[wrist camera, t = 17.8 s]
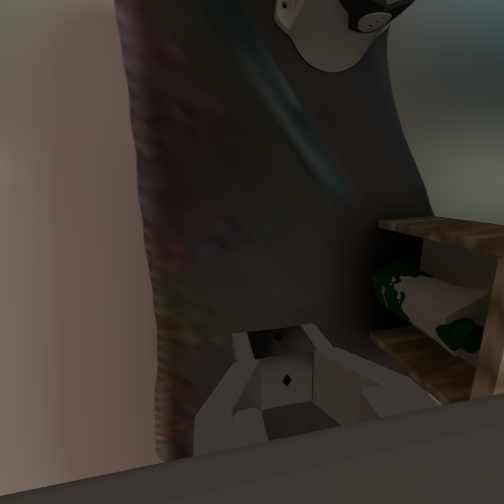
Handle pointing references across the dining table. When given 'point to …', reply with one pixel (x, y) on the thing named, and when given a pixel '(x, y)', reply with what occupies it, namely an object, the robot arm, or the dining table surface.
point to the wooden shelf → (464, 274)
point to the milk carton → (434, 305)
